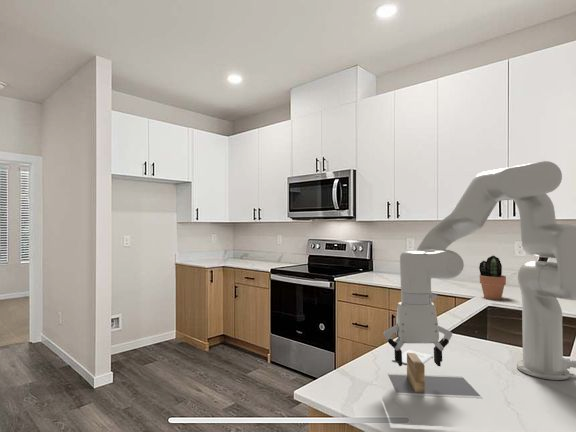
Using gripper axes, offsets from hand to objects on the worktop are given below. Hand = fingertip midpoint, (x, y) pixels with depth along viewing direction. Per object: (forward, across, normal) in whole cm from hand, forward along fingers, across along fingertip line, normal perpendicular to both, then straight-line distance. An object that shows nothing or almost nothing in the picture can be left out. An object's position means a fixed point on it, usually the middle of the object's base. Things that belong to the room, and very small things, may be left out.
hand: (418, 364), depth 97 cm
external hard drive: (+7, -3, -19) cm, 20 cm away
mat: (+6, -3, 0) cm, 6 cm away
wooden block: (+5, +1, 0) cm, 5 cm away
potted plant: (+10, -75, -126) cm, 147 cm away
